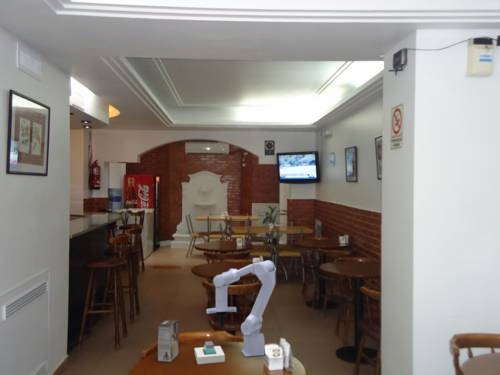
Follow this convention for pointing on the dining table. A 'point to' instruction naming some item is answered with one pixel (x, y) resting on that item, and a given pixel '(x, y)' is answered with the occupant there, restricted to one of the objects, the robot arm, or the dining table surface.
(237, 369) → the dining table surface
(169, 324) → the coffee box
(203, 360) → the block
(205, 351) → the plug
